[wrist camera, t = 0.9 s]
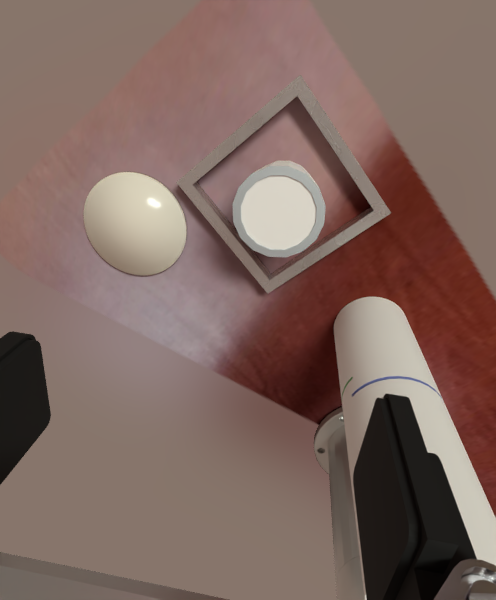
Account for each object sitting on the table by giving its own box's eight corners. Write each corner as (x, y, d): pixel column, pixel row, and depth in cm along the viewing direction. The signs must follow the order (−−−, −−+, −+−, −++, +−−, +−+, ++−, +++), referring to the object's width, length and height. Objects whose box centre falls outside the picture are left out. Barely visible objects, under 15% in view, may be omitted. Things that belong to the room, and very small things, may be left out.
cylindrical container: (422, 329, 40) (565, 617, 18) (366, 370, 43) (429, 660, 21) (373, 282, 39) (464, 534, 17) (318, 328, 42) (332, 593, 20)
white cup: (291, 245, 38) (289, 274, 32) (230, 203, 37) (214, 225, 31) (338, 182, 35) (345, 202, 29) (272, 135, 34) (265, 145, 28)
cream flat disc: (208, 236, 39) (207, 237, 38) (136, 291, 42) (135, 293, 42) (134, 147, 36) (132, 148, 36) (65, 215, 40) (62, 216, 39)
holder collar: (387, 208, 36) (391, 212, 34) (268, 287, 40) (267, 293, 39) (300, 75, 32) (300, 74, 31) (181, 179, 37) (176, 182, 35)
